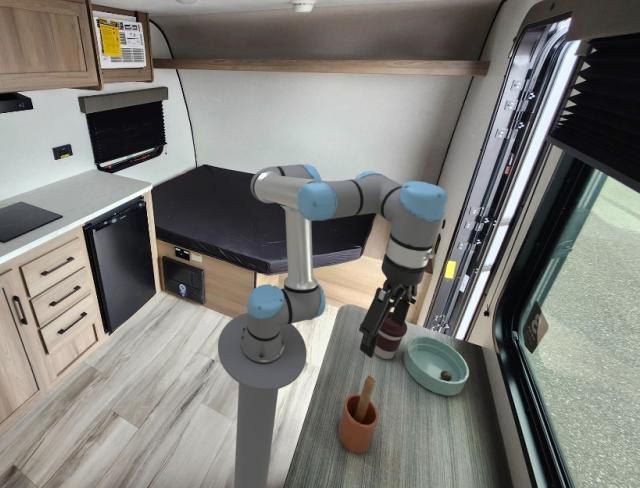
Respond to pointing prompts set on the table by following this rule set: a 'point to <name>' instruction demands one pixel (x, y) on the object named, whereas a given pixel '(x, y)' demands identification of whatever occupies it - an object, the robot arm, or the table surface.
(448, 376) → the bead
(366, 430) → the crock
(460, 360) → the bowl
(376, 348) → the coffee cup
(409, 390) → the table surface
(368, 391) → the stick
